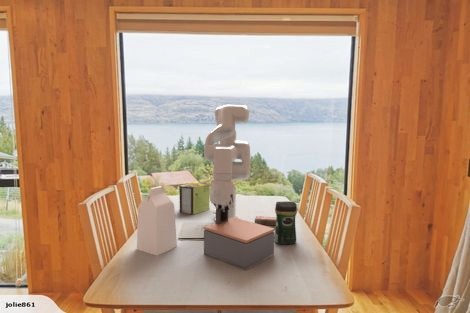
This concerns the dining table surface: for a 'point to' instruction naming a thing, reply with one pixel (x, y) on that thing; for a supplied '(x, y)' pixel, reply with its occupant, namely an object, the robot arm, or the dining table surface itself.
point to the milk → (156, 223)
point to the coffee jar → (285, 223)
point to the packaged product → (266, 221)
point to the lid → (238, 228)
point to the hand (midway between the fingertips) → (222, 219)
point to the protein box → (194, 197)
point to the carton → (239, 249)
